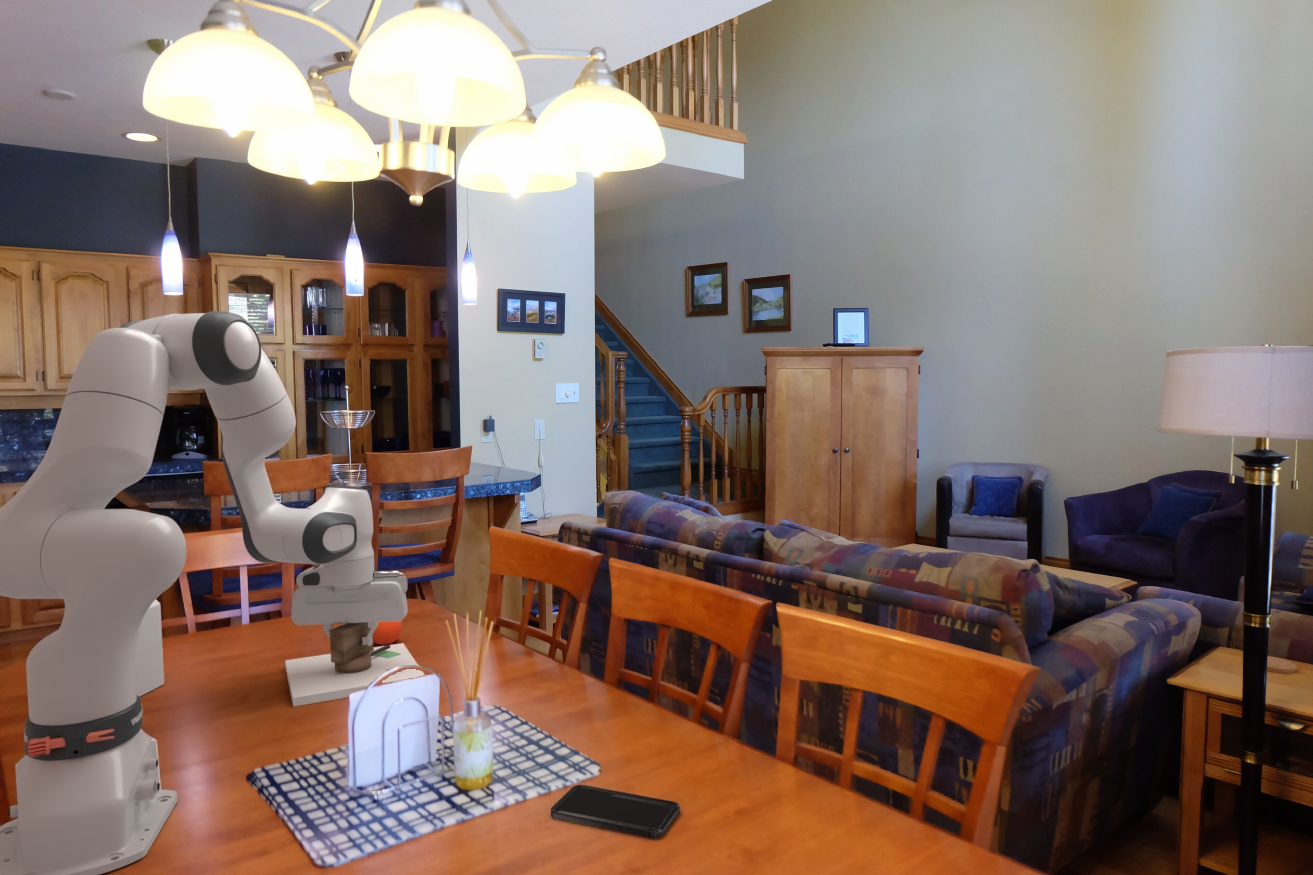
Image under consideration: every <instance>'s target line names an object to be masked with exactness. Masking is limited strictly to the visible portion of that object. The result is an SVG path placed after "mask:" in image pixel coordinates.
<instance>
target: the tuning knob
mask: <svg viewBox="0 0 1313 875" xmlns="http://www.w3.org/2000/svg"><path fill="white" fill-rule="evenodd" d="M370 630H371V628H368V622H366V623H343V624H341V625H340V626H336V627H333V628H332V629H331V630H330V639H329V641H330V642H329V643H330V645H329V646H330V654H331V662H333V663H335V670H336V671H337V672H341V673H352V672H358V671H362V670H365V669H368V668H369V667H371V657H372V656H374V655H376V654H378V653H380V652H382V651H385V650H387V649H389V648H390V645H391V644H388V645H383V646H384V647H381V648H379V649H377V650H375V651H374V646H375V645H374V643H375V642H373V635H372V645H371V646H363V645H362V643H363V641H362V637H363V636H364V635H366V634H369V632H370ZM372 651H373V652H372Z"/></svg>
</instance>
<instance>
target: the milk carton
mask: <svg viewBox="0 0 1313 875" xmlns="http://www.w3.org/2000/svg"><path fill="white" fill-rule="evenodd" d="M161 611H162V608H161V602H159V601H158V600H157V598H156V599H155V601H154V602H153V603H152V604H151V606H150V607H149V609H148V610H147V612H146V614H145V616H144V618H143V621H142V623H141V626H140V629H139V633H138V637H137V644H136V691H137V696H139V697H140V698H141V697H142V696H144V695H145V694H148V693H149V692H152V691H154V690H155V689H157V688H160V687H161V686H163V685H164V684H165V673H164V672H165V670H164V653H163V652H164V651H163V632H162V631H163V630H162V612H161Z"/></svg>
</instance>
